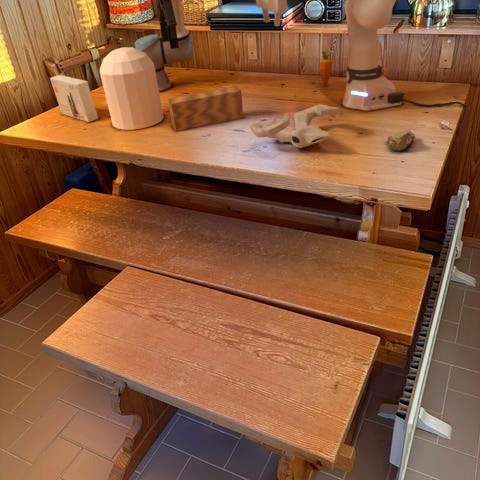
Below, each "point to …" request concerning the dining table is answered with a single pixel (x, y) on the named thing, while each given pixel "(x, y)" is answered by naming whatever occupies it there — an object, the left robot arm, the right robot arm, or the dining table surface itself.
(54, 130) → the dining table surface
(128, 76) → the container
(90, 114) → the skincare box
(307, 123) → the beige branched piece
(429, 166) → the dining table surface
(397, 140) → the rock
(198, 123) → the box
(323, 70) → the carrot
